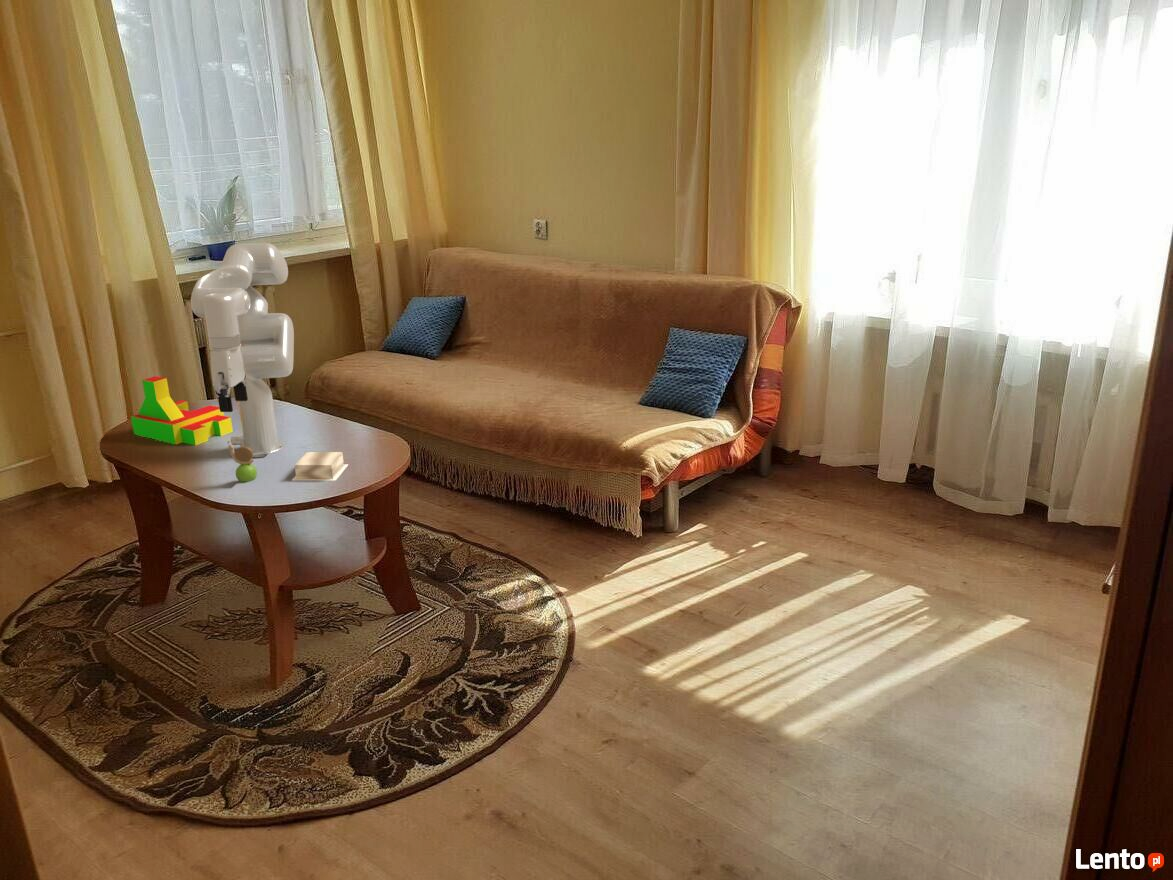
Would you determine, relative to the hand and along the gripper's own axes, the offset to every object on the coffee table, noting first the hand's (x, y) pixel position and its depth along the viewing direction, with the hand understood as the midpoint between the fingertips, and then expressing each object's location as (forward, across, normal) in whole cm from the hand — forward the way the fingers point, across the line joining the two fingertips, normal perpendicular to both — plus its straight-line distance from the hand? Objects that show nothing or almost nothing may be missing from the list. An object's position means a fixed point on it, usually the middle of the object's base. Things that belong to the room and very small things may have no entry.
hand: (234, 406), depth 243 cm
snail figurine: (+22, 0, 0) cm, 22 cm away
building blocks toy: (+22, -42, -36) cm, 59 cm away
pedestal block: (+21, -5, +19) cm, 28 cm away
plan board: (+22, -6, +16) cm, 28 cm away
